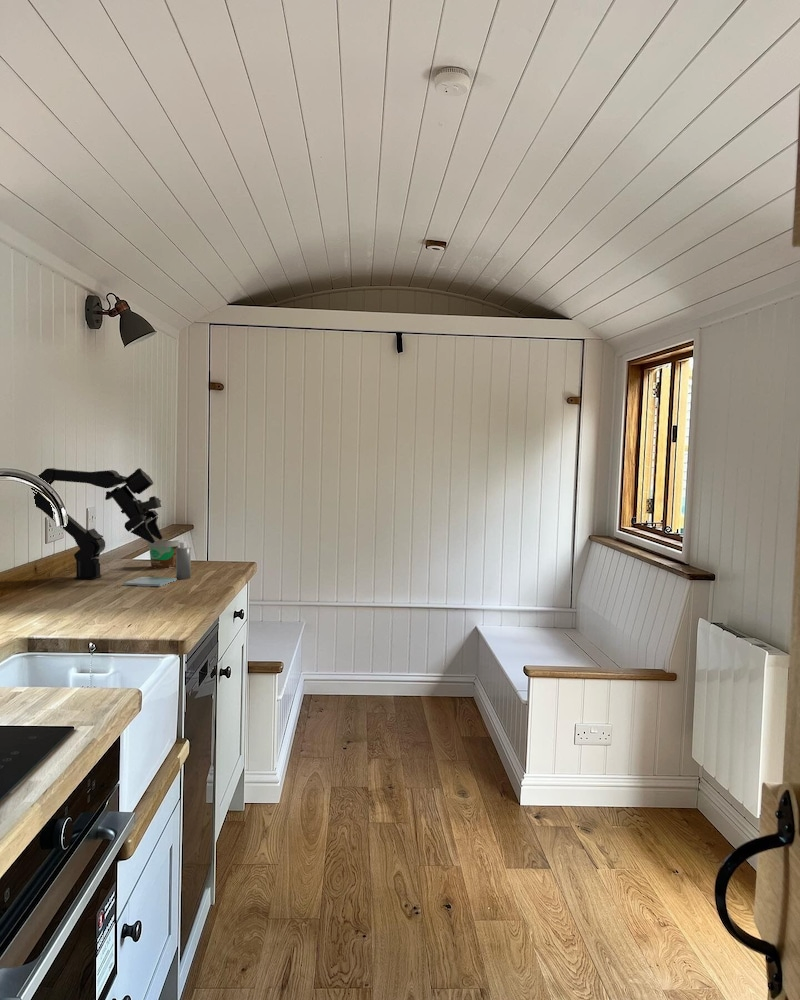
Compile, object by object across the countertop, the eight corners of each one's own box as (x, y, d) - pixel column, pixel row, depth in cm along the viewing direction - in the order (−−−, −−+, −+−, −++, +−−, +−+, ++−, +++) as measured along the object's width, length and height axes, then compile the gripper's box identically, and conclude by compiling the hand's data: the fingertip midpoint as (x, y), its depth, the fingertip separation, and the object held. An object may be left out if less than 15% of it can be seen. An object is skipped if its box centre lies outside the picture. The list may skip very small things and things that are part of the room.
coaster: (123, 585, 241) (123, 582, 241) (142, 579, 253) (142, 576, 253) (159, 586, 239) (159, 584, 239) (176, 580, 251) (176, 578, 251)
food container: (140, 568, 275) (139, 540, 275) (150, 565, 281) (150, 538, 280) (170, 570, 272) (170, 541, 271) (180, 567, 278) (180, 540, 277)
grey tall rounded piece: (173, 578, 254) (173, 542, 253) (179, 576, 259) (179, 540, 258) (187, 579, 253) (186, 543, 253) (192, 577, 258) (192, 541, 257)
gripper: (139, 490, 244) (170, 529, 245) (155, 486, 262) (183, 523, 264) (111, 511, 244) (142, 550, 245) (129, 505, 262) (157, 542, 264)
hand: (157, 540), depth 254 cm, fingers open, 9 cm apart
